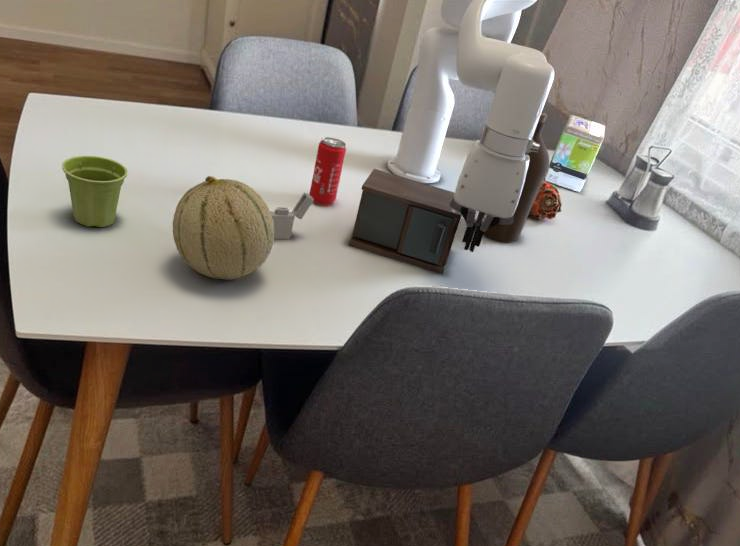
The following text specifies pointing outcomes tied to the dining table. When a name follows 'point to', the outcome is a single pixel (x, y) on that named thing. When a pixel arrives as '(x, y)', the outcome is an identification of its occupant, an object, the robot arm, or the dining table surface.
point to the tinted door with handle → (426, 235)
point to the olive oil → (524, 191)
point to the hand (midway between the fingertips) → (469, 247)
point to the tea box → (575, 153)
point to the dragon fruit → (546, 202)
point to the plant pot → (94, 188)
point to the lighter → (289, 217)
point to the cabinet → (397, 215)
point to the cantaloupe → (223, 228)
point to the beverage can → (327, 171)
